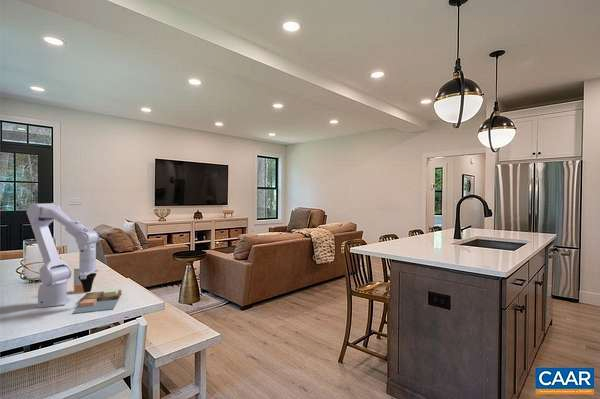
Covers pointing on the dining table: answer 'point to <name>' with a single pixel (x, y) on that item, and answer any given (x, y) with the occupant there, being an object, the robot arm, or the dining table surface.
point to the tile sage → (110, 292)
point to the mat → (97, 307)
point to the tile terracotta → (88, 302)
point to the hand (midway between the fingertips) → (87, 291)
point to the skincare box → (77, 282)
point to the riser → (101, 296)
